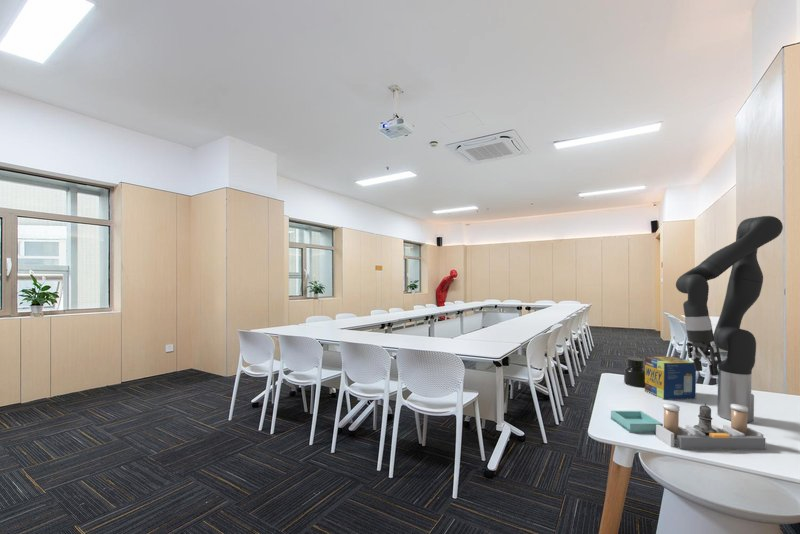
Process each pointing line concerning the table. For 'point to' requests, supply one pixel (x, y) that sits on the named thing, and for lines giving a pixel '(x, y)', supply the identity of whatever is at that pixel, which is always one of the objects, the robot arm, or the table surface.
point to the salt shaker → (705, 420)
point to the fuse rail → (712, 438)
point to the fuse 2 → (739, 418)
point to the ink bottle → (635, 372)
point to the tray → (635, 421)
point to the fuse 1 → (671, 418)
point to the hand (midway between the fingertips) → (706, 373)
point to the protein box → (670, 377)
